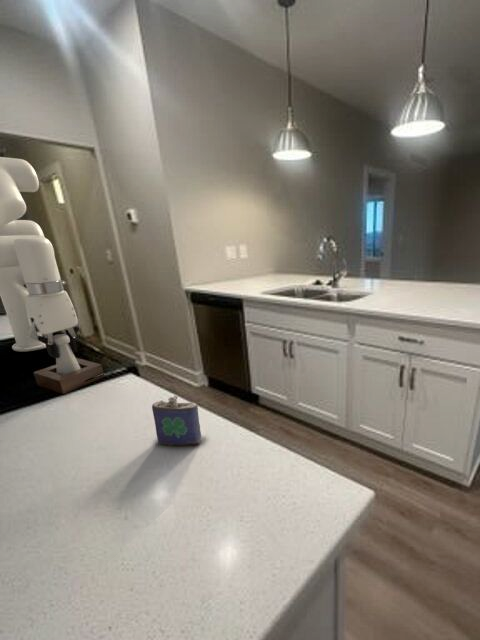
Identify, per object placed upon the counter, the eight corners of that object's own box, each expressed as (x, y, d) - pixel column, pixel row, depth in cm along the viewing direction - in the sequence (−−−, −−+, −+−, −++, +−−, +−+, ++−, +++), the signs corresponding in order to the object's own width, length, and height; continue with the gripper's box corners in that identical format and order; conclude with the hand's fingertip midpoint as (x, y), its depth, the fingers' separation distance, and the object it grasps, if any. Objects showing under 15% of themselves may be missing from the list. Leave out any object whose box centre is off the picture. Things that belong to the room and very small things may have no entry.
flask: (203, 438, 73) (197, 394, 69) (199, 447, 70) (192, 401, 66) (161, 437, 73) (152, 393, 69) (155, 445, 71) (145, 400, 67)
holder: (37, 385, 96) (33, 372, 95) (79, 369, 106) (75, 357, 105) (63, 394, 91) (59, 380, 90) (104, 376, 101) (101, 364, 100)
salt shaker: (71, 383, 95) (58, 339, 90) (54, 381, 96) (40, 338, 91) (87, 375, 100) (76, 332, 95) (70, 373, 102) (58, 331, 96)
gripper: (69, 281, 97) (84, 342, 104) (-1, 292, 83) (23, 362, 90) (86, 284, 94) (101, 346, 101) (16, 295, 80) (39, 367, 87)
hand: (64, 353), depth 95 cm, fingers closed on salt shaker, 4 cm apart
